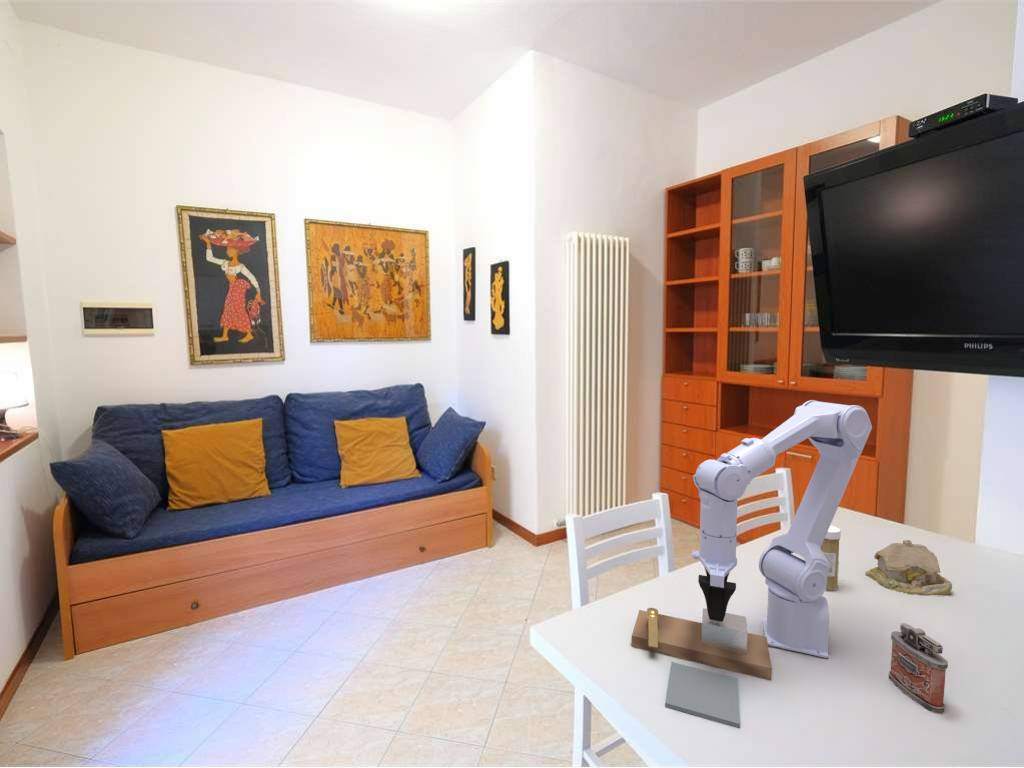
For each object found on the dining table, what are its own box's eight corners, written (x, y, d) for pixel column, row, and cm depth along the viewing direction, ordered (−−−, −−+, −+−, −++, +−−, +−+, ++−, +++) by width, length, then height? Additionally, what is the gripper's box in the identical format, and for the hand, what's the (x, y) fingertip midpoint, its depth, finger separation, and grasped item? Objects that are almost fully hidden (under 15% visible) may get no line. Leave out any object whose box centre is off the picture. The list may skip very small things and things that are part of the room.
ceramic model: (881, 591, 103) (883, 547, 102) (859, 568, 114) (861, 528, 113) (960, 601, 99) (963, 554, 99) (929, 576, 110) (932, 534, 109)
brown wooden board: (766, 647, 84) (766, 636, 84) (771, 680, 76) (771, 668, 76) (639, 619, 93) (639, 609, 93) (631, 646, 85) (631, 635, 84)
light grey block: (745, 638, 83) (745, 616, 83) (746, 655, 79) (747, 632, 79) (702, 629, 86) (702, 608, 86) (701, 645, 82) (702, 622, 81)
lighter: (882, 676, 77) (885, 616, 76) (901, 674, 77) (905, 615, 76) (930, 714, 69) (934, 648, 68) (951, 712, 69) (956, 647, 68)
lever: (646, 621, 89) (646, 607, 88) (657, 623, 88) (658, 608, 88) (646, 645, 81) (647, 630, 81) (659, 647, 81) (659, 632, 81)
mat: (737, 681, 76) (737, 678, 75) (739, 728, 66) (739, 723, 66) (671, 665, 80) (671, 661, 79) (665, 706, 70) (665, 702, 70)
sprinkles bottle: (841, 587, 105) (844, 528, 104) (832, 593, 102) (835, 533, 101) (819, 579, 109) (821, 522, 108) (809, 584, 106) (811, 526, 105)
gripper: (694, 514, 89) (693, 583, 90) (690, 544, 76) (689, 625, 77) (736, 519, 86) (734, 591, 87) (739, 551, 73) (737, 635, 74)
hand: (716, 607), depth 82 cm, fingers open, 7 cm apart
